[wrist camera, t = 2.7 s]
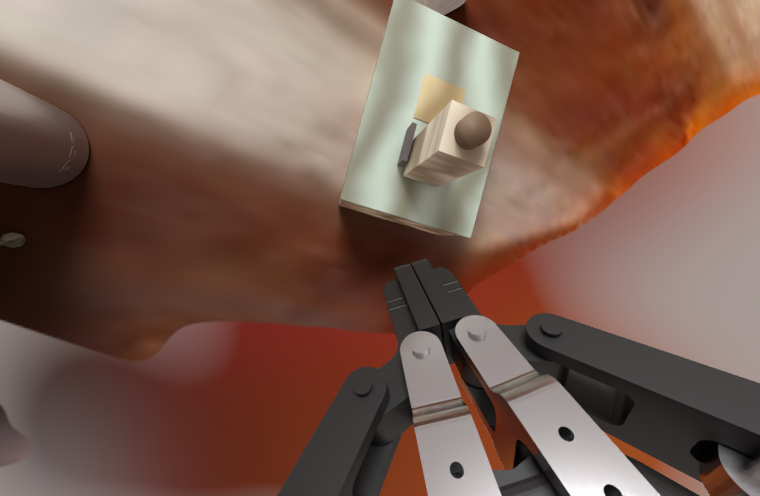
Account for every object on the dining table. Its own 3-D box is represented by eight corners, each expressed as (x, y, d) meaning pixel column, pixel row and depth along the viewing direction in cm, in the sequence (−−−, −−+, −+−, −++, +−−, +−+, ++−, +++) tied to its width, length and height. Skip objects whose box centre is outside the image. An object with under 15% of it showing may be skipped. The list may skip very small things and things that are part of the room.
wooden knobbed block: (403, 175, 29) (445, 145, 19) (412, 140, 29) (459, 91, 20) (436, 187, 30) (493, 163, 20) (445, 152, 30) (506, 111, 20)
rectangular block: (335, 207, 37) (341, 196, 26) (379, 46, 37) (401, -26, 27) (439, 237, 40) (480, 238, 30) (478, 90, 40) (532, 40, 30)
